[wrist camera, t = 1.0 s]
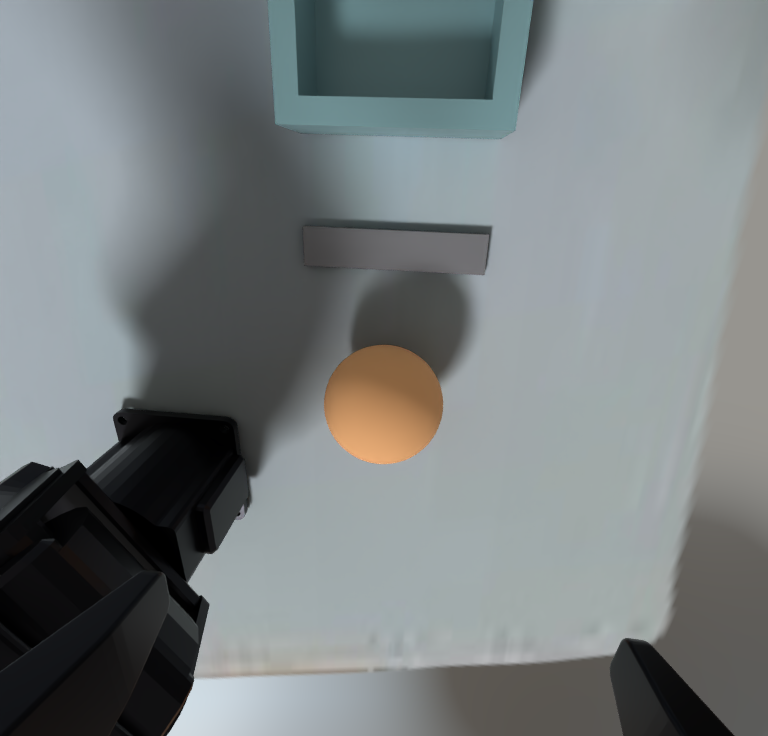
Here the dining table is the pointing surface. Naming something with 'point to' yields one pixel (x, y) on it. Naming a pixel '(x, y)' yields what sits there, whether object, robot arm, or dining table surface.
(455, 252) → the gray ramp board
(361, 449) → the ball
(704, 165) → the dining table surface
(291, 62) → the tray
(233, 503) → the robot arm
